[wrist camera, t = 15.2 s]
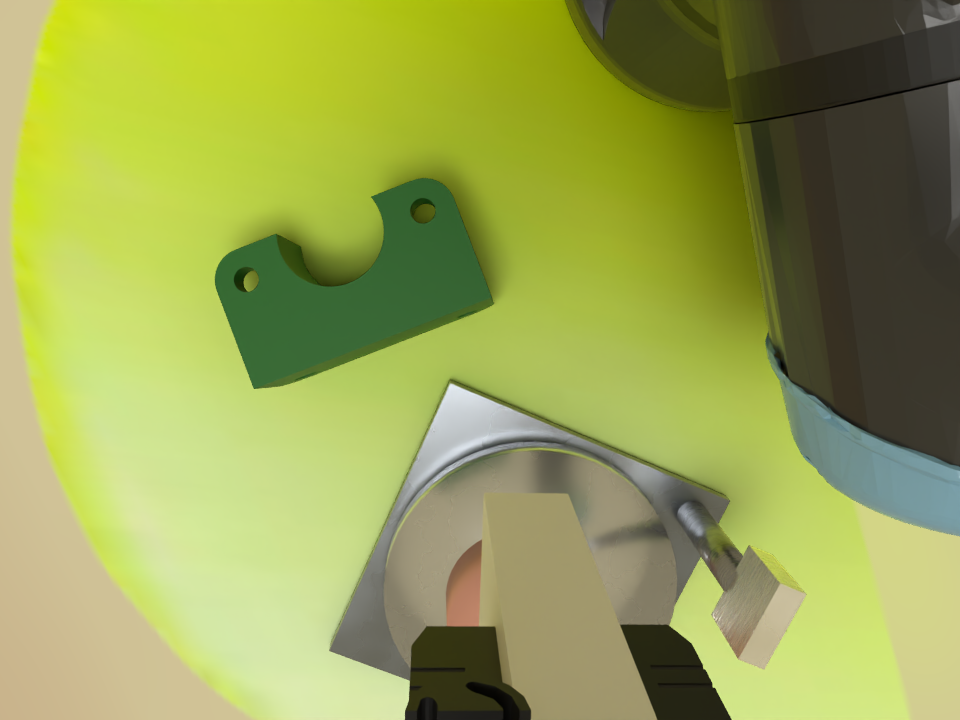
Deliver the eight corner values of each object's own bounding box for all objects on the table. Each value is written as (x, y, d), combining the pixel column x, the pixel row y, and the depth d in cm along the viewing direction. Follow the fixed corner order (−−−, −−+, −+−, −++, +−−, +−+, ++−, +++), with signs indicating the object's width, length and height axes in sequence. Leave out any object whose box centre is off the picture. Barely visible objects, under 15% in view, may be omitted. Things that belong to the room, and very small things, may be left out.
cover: (440, 537, 45) (440, 578, 40) (579, 524, 45) (595, 564, 41) (451, 662, 46) (453, 715, 42) (585, 649, 46) (602, 701, 42)
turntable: (371, 455, 45) (358, 513, 38) (665, 429, 46) (709, 482, 38) (399, 719, 49) (394, 821, 41) (672, 693, 49) (715, 788, 42)
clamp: (421, 218, 48) (477, 158, 40) (461, 322, 48) (526, 285, 39) (201, 284, 44) (210, 233, 35) (244, 399, 44) (265, 376, 35)
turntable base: (452, 374, 45) (459, 452, 34) (727, 490, 48) (826, 602, 36) (330, 642, 48) (297, 801, 37) (595, 740, 51) (645, 920, 39)
